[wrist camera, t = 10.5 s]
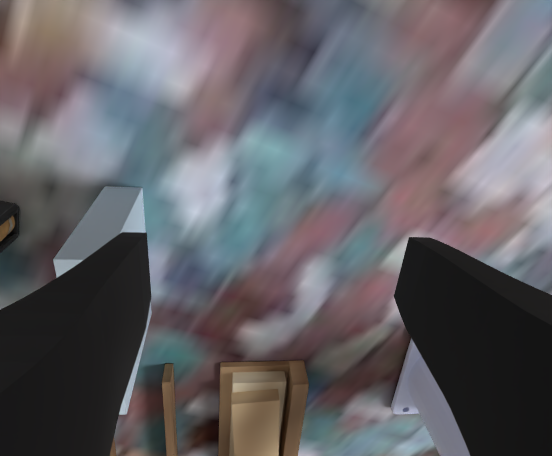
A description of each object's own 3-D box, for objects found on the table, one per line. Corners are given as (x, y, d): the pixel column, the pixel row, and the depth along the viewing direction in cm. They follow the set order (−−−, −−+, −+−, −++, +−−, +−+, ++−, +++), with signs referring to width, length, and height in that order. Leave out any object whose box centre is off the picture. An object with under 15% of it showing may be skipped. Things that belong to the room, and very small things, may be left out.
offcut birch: (284, 371, 27) (286, 381, 26) (273, 466, 31) (274, 477, 31) (232, 372, 27) (232, 383, 26) (228, 468, 31) (228, 480, 30)
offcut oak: (278, 388, 26) (279, 400, 26) (276, 465, 30) (278, 477, 29) (231, 392, 26) (231, 404, 25) (235, 469, 30) (236, 482, 29)
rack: (303, 360, 27) (308, 384, 26) (285, 483, 33) (289, 509, 32) (77, 365, 25) (66, 391, 24) (102, 495, 31) (94, 523, 30)
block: (142, 187, 21) (107, 259, 14) (151, 313, 24) (126, 414, 18) (105, 185, 20) (53, 259, 14) (119, 313, 24) (83, 416, 18)
